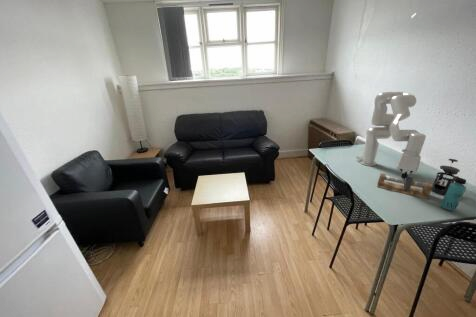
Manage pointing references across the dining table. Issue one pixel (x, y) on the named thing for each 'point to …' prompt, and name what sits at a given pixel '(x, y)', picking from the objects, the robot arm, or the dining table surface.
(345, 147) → the dining table surface
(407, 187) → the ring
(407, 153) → the robot arm
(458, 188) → the beverage bottle
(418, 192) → the pipe stand
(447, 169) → the french press
